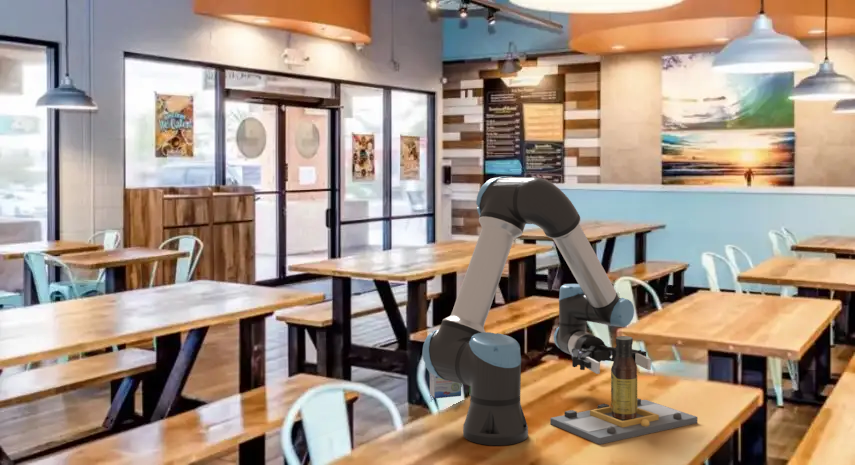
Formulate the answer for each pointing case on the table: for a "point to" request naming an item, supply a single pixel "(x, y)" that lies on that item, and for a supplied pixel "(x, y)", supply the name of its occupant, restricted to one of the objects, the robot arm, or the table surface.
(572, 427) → the grey fixture plate
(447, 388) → the medicine box
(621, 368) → the sauce bottle
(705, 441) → the table surface
